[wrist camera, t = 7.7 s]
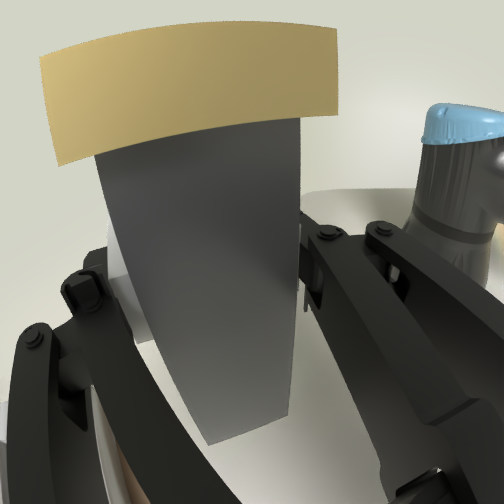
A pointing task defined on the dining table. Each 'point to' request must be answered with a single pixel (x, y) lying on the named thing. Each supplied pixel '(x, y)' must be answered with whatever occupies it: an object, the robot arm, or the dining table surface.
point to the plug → (203, 192)
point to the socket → (111, 457)
